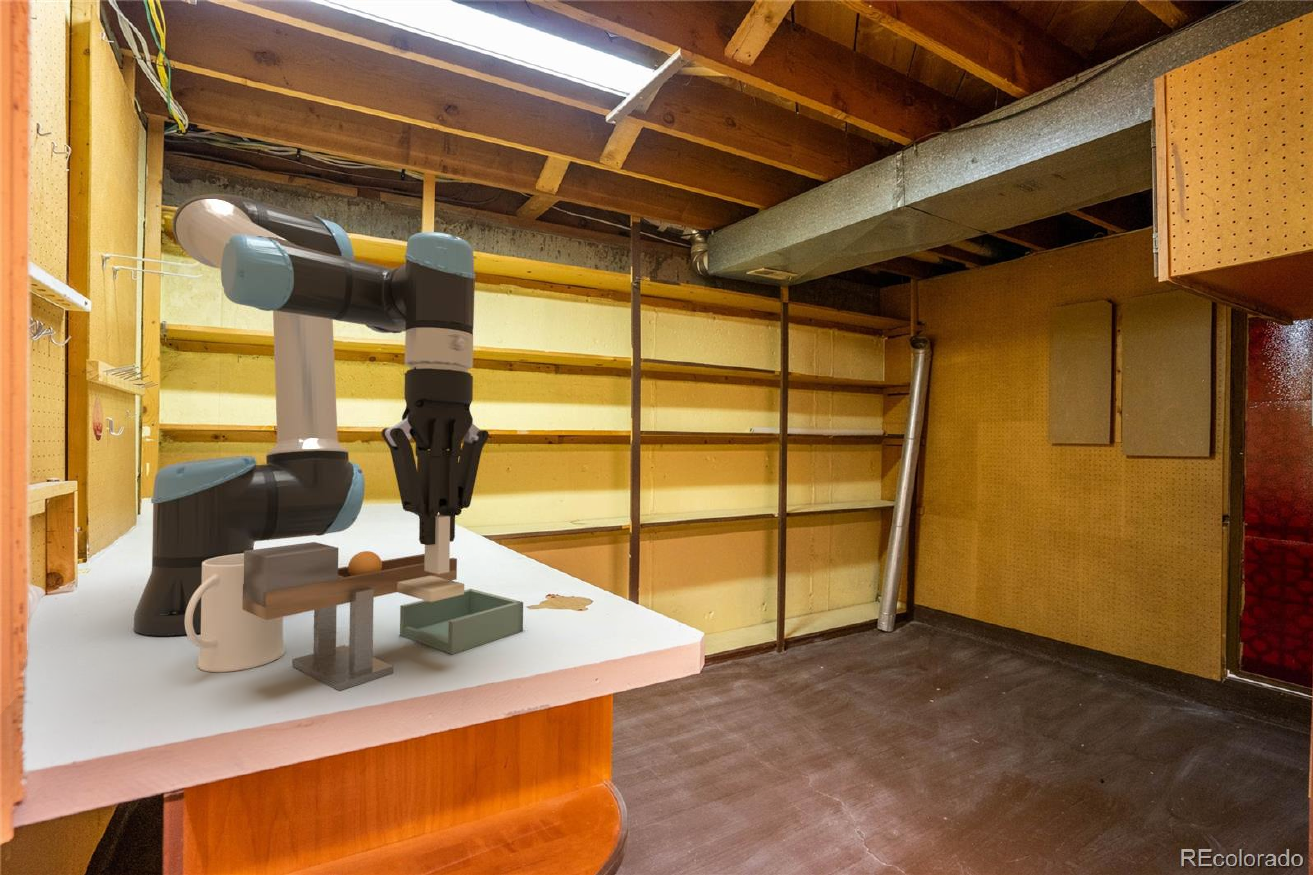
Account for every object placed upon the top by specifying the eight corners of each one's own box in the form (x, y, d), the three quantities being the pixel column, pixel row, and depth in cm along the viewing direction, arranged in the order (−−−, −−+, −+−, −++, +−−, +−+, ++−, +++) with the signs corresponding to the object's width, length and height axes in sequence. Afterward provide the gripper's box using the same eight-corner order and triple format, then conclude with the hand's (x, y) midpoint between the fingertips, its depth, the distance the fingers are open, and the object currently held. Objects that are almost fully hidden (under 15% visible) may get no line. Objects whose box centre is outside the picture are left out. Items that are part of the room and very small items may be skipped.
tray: (399, 635, 79) (400, 605, 79) (470, 615, 88) (471, 588, 88) (452, 654, 72) (452, 622, 72) (522, 630, 82) (523, 602, 82)
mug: (212, 688, 62) (214, 574, 62) (147, 680, 64) (149, 570, 64) (301, 649, 74) (303, 553, 74) (244, 643, 75) (246, 550, 75)
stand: (292, 666, 68) (293, 581, 68) (344, 651, 73) (345, 572, 73) (339, 690, 62) (340, 597, 62) (393, 672, 67) (394, 586, 67)
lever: (241, 609, 62) (242, 550, 62) (428, 572, 80) (429, 527, 80) (297, 634, 54) (298, 567, 54) (490, 587, 72) (491, 537, 72)
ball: (341, 582, 69) (342, 551, 69) (371, 576, 72) (372, 547, 72) (357, 587, 67) (358, 555, 67) (387, 581, 70) (388, 551, 70)
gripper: (405, 361, 61) (402, 587, 61) (504, 373, 72) (502, 566, 72) (368, 366, 66) (365, 576, 65) (466, 377, 76) (464, 558, 76)
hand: (436, 571), depth 69 cm, fingers closed
